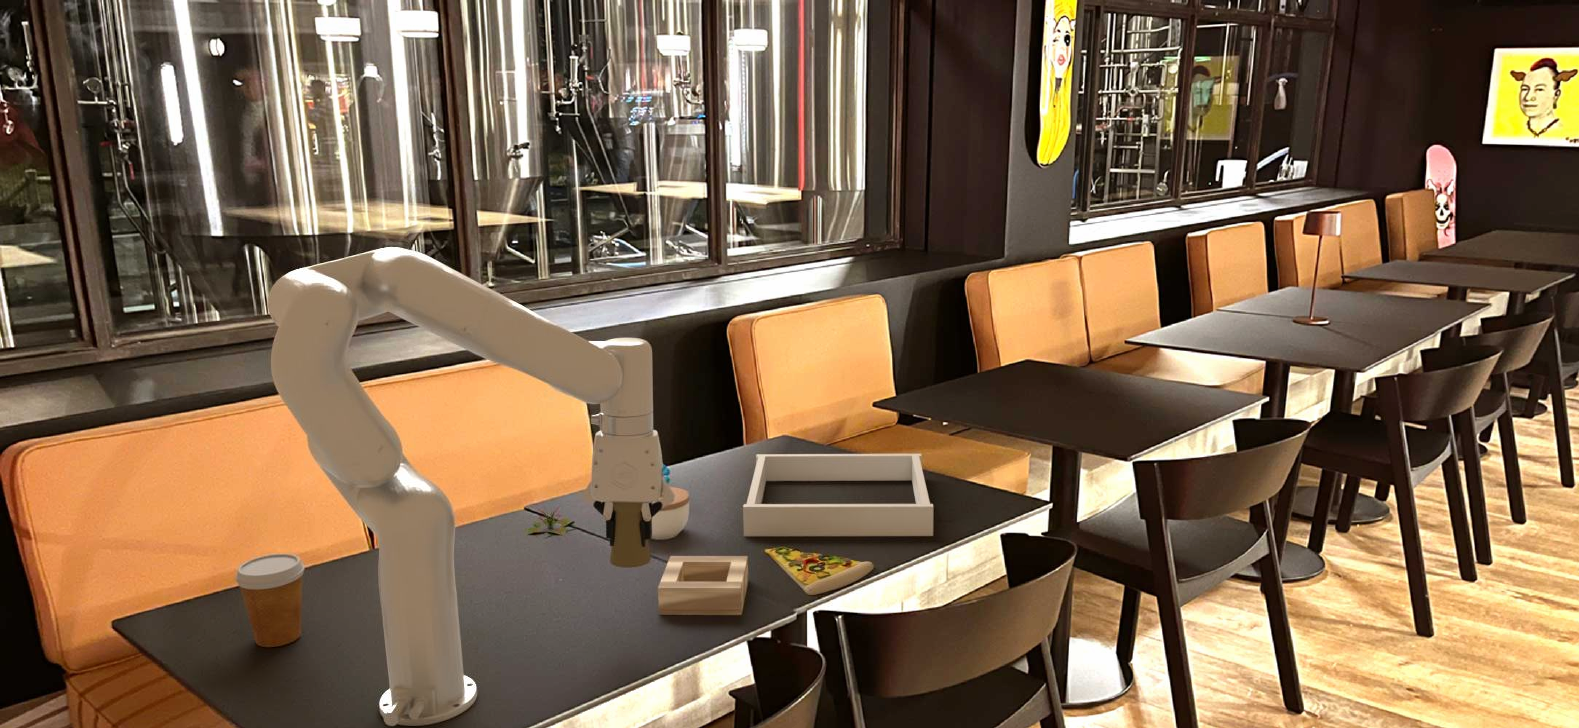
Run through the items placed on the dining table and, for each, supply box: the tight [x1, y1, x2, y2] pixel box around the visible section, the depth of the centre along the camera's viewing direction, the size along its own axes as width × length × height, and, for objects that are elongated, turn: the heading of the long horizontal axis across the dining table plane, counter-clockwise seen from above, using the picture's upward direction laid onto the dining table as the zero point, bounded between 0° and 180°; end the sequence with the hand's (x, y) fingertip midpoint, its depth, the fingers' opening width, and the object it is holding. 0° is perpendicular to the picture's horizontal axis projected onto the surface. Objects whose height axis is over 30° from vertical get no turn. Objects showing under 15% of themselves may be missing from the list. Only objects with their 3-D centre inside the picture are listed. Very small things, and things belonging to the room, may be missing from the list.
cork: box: [609, 502, 652, 569], centre depth 164 cm, size 6×6×11 cm
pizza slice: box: [764, 546, 875, 596], centre depth 191 cm, size 16×21×3 cm
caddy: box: [657, 555, 749, 616], centre depth 179 cm, size 13×13×4 cm
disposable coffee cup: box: [234, 553, 306, 648], centre depth 167 cm, size 10×10×12 cm
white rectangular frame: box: [742, 453, 934, 537], centre depth 220 cm, size 33×35×6 cm
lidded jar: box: [651, 486, 691, 541], centre depth 207 cm, size 11×11×9 cm
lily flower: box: [524, 506, 577, 539], centre depth 212 cm, size 12×12×5 cm
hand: (629, 542), depth 164 cm, fingers closed on cork, 3 cm apart
